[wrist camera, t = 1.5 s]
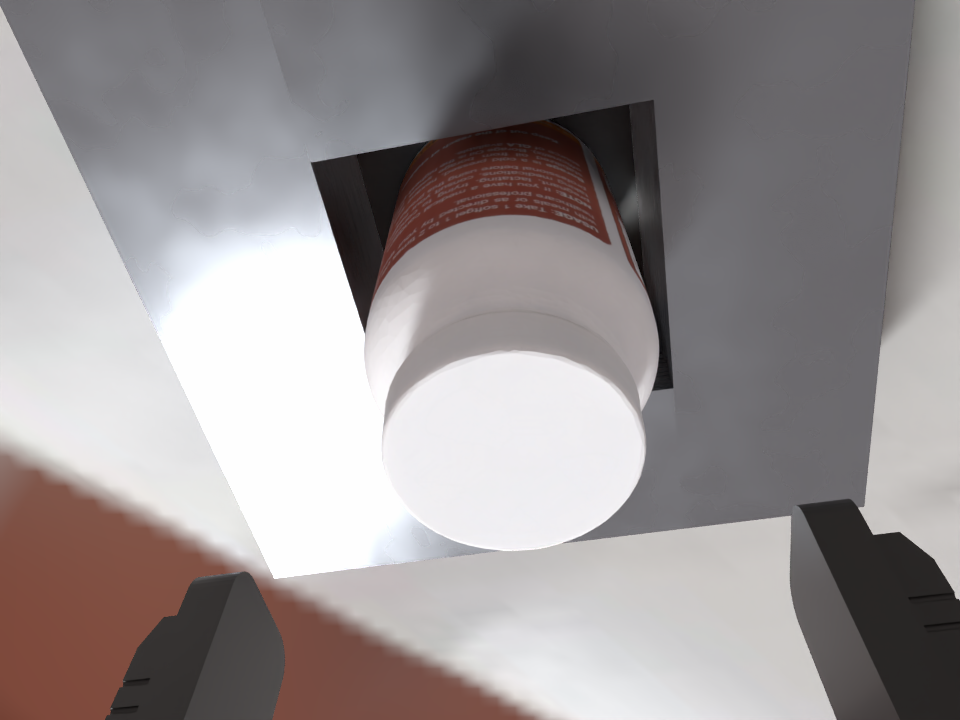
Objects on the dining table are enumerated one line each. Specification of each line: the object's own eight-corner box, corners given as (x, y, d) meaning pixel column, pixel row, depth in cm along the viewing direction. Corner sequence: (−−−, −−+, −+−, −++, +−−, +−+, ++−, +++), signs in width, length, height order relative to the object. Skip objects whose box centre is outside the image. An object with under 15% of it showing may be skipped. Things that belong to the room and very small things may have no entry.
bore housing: (77, -67, 19) (-24, -45, 16) (843, -240, 17) (941, -265, 13) (303, 482, 29) (274, 578, 25) (812, 413, 27) (863, 506, 23)
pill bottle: (355, 215, 23) (261, 463, 14) (501, 55, 21) (507, 226, 11) (506, 340, 25) (513, 625, 16) (655, 209, 23) (764, 458, 14)
